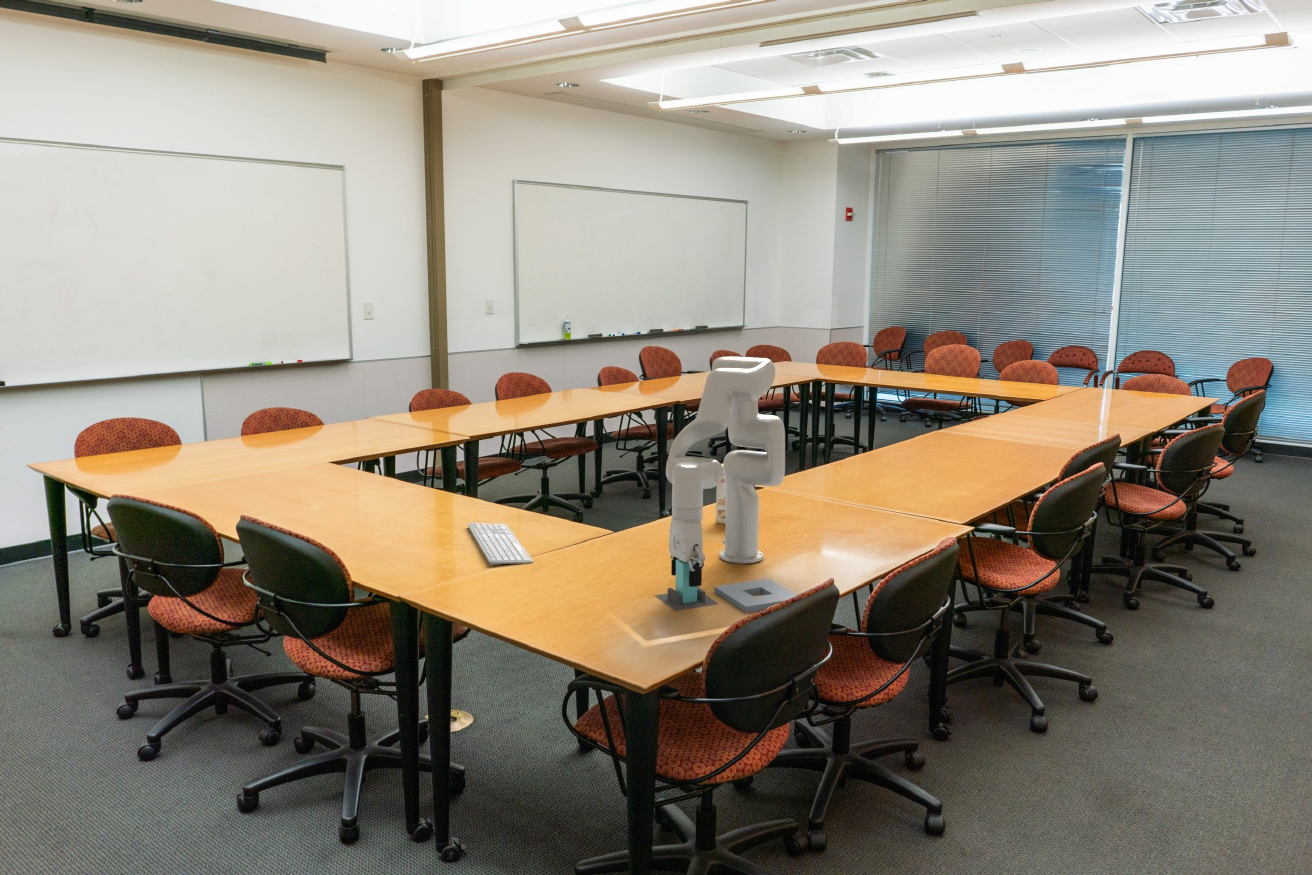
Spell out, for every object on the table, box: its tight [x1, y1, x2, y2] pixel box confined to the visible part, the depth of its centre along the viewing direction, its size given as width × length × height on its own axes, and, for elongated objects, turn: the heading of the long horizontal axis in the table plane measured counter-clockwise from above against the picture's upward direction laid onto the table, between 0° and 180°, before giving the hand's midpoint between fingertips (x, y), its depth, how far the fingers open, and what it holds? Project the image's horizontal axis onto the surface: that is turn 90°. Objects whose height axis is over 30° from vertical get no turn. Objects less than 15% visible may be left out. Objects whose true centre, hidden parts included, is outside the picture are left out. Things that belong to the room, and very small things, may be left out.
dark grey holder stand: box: [654, 586, 720, 612], centre depth 230 cm, size 12×12×4 cm
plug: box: [675, 559, 697, 603], centre depth 229 cm, size 4×4×10 cm
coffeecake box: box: [715, 463, 754, 525], centre depth 310 cm, size 15×7×20 cm, turn 148°
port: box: [713, 578, 798, 614], centre depth 232 cm, size 16×16×2 cm
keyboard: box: [467, 522, 534, 567], centre depth 281 cm, size 44×12×2 cm, turn 19°
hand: (686, 580), depth 229 cm, fingers open, 9 cm apart
